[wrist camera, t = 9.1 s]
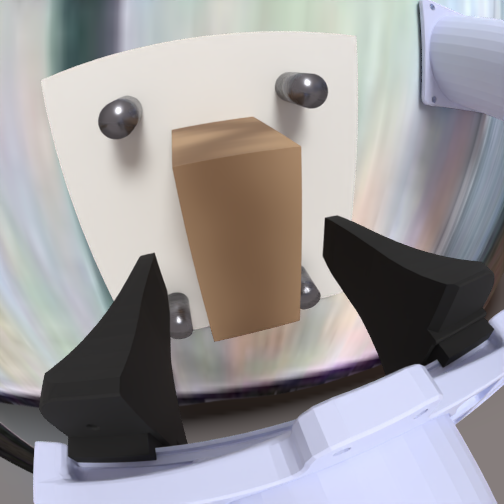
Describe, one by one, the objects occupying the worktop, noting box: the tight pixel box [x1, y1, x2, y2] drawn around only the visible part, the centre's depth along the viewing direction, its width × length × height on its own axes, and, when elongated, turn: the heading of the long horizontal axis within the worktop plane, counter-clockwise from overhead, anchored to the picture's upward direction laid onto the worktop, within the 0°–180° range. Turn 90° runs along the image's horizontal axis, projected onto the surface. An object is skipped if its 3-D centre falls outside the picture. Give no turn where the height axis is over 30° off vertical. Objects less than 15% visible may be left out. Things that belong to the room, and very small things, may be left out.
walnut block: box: [172, 117, 302, 342], centre depth 13 cm, size 4×8×6 cm, turn 5°
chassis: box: [41, 31, 358, 339], centre depth 16 cm, size 16×18×4 cm
